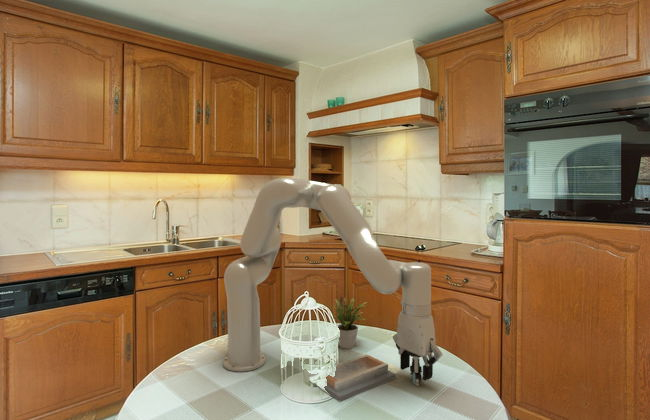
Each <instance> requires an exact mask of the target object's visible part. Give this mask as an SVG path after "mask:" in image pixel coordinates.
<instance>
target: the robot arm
mask: <svg viewBox="0 0 650 420" xmlns="http://www.w3.org/2000/svg"><path fill="white" fill-rule="evenodd" d="M285 208H289V209H291V208H293V209H295V208H306V209H307V208H308V209H314V210H318V211H321V213H322V214H323V216H324V217H325V218H326V220H327V221H328V222H329V223H330V225H331V226H332V227H333V229H334V230H335V231H336V233H337V234H338V236H339V237H340V238H341V240H342V241H343V243H344V244H345V247H346V248H347V251H348V252H349V254H350V255H351V258H352V260H353V261H354V263H355V265H356V266H357V267H358V269H359V270H360V272H361V273H362V275H363V276H364V278H365V279H366V280H367V282H368V283H369V284H370V286H371V287H373V289H374V290H376V291H377V292H378V293H380V294H383V295H391V294H394V293H395V292H397V291H398V290H399V288H400V287H401V289H402V291H401V292H402V294H401V298H402V300H401V301H400V302H399V303H400V305H401V306H402V307H401V308H402V310H401V311H399V314H398V318H397V319H398V320H397V328H396V333H395V334H394V335H393V336H392V340H393V342H394V343H395V347H396V348H397V350H398V352H397V353H398V354H399V356H400V357H399V358H400V359H399V360H400V364H399V365H400V366H399V367H400V370H402V371H404V370H405V369H410V366H411V363H410V360H411V356H410V355H409V354H408V353H407V351H409V352H411V353H414V354H416V355H419V356H422V357H421V358H422V360H423V363H424V364H423V365H422V380H423V381H427V380H430V379H432V378H433V373H434V372H433V371H434V366H433V365H434V364H435V363H437V362H438V361H439V360H440V359H441V357H443V352H442V351H441V349H439V347H438V346H437V344H436V329H435V324H434V318H433V315H432V267H431V266H430V265H429V264H428V263H425V262H420V261H419V262H418V261H416V262H415V261H414V262H413V261H412V262H405V261H399V260H394V259H388V258H387V257H386V256H385V254H384V253H383V252H382V250H381V248H380V247H379V245H378V243H377V241H376V239H375V237H374V234H373V233H374V232H373V230H372V229H373V228H372V227H371V225H370V224H369V222H368V221H367V220H366V218H365V217H364V215H363V214H362V213H361V212H360V210H359V209H358V208H357V207H356V204H354V202H353V201H352V196H351V193H350V191H349V190H348V189H347V188H346V187H345V186H343V185H339V184H332V183H326V182H320V181H314V180H309V179H303V178H296V177H281V178H276V179H275V178H274V179H272V180H270V181H268V182H266V184H264V185H263V186H262V188H261V189H260V190H259V192H258V194H257V197H256V199H255V202H254V205H253V207H252V209H251V213H250V215H249V217H248V220H247V222H246V225H245V228H244V230H243V233H242V235H241V238H240V243H239V246H240V250H241V252H242V253H243V254H244V256H243V257H240V258H238V259H236V260H234V261H231V262H230V263H229V265H228V266H227V267H226V269H225V271H224V275H223V282H224V289H225V294H226V305H227V306H226V309H227V355H226V356H225V357H224V358H223V359H222V366H223V367H224V368H225V369H226V370H229V371H232V372H249V371H253V370H257V369H259V368H261V367H262V366H263V365H265V363H266V359H267V358H266V357H267V356H266V355H265V354H264V353H262V352H261V310H260V309H261V304H260V297H259V293H258V285H259V284H261V283H263V282H264V281H266V279H267V278H268V277H269V275H270V273H271V271H272V269H273V265H274V263H275V260H276V258H277V255H278V253H279V250H280V247H281V244H282V234H281V231H280V230H279V228H278V226H279V223H280V221H281V216H282V212H283V210H284V209H285Z"/></svg>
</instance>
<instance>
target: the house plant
mask: <svg viewBox="0 0 650 420" xmlns="http://www.w3.org/2000/svg"><path fill="white" fill-rule="evenodd" d="M343 300H344V304H341V303H340V302H339V301H338V299H334V301H335V303H336V305H337V307H336V306H334V305H333V304H331V306H332V308H333V309H334V310H335V311H336V312H337V314H335V316H334V315H332V316H333V318H332V319H334V320H335V319H336V320H338V321H339V322H340V324H338V325H337V326H338V328H339V330H340V337H339V338H338V344H339V347H340V348H342V349H353V348H355V347H356V342H357V336H358V330H359V326H357V325H356V323H357V322H355V321H357V320H359V321H364V322H366V321H365V320H366V319H365V318H363V317H362V315H361V314H364V311H361V310H360V309H361V308H364V307H365V304H367V303H368V301H365V302H362V303H361V304H359V305H358V306H357V307H355V308H354V306H355V298H354V296H352V297H351V300H350V303H349V305H348V303H347V300H346V297H343ZM342 305H343V306H344V309H343V306H342ZM357 312H359V313H357ZM361 317H362V318H361Z"/></svg>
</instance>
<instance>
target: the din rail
mask: <svg viewBox="0 0 650 420" xmlns="http://www.w3.org/2000/svg"><path fill="white" fill-rule="evenodd" d="M335 365H336V364H335ZM388 370H389V364H388V363H386V362H384V361H381V360H380V359H377V358H375V357H374V356H371V355H369V354H367V353H365V354H362V355H360V356H357V357H354V358H351V359H350V358H349V359H347V360H345V361H342V362H339V363H337V365H336V371H335V376H334V377H332V376H330V375H328V376H327V377H326V379H327V386H329V387H330V388H332V389H333V390H335V391H337V392H339V391H342V390H344V389H347V388H350V387H352V386H355V385H357V384H360V383H362V382H365V381H367V380H370V379H372V378H375V377H377V376H380V375H382V374H385V373H387V372H388Z"/></svg>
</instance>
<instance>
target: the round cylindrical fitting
mask: <svg viewBox="0 0 650 420" xmlns="http://www.w3.org/2000/svg"><path fill="white" fill-rule="evenodd" d="M407 353H408V354H409V355H410V357H411V358H412V359H411V365H410V367H409V371H410V373H409V380H411V379H412V385H415V386H420V383H421V381H422V380H423V376H422V372H423V367H422V366H421V364H420V358H422V356H419V355H416V354H414V353H411V352H409V351H407Z"/></svg>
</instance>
